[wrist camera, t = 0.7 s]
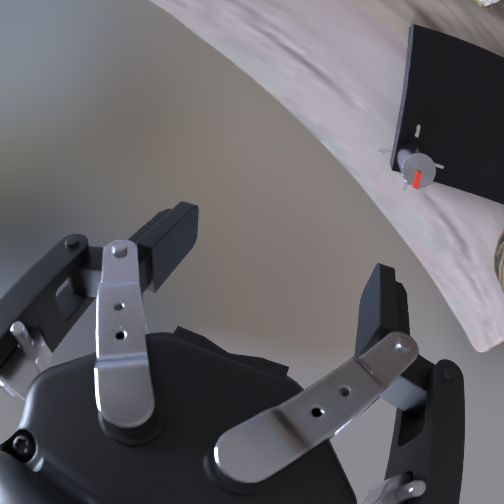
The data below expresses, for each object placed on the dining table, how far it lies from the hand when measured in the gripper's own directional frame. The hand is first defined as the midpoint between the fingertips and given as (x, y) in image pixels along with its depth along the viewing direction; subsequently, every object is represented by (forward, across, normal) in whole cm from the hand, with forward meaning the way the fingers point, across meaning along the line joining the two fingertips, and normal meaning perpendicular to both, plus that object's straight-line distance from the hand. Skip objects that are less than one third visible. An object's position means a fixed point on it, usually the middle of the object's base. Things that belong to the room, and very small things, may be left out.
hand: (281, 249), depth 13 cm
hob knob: (+23, -9, 0) cm, 25 cm away
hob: (+26, -14, -7) cm, 30 cm away
